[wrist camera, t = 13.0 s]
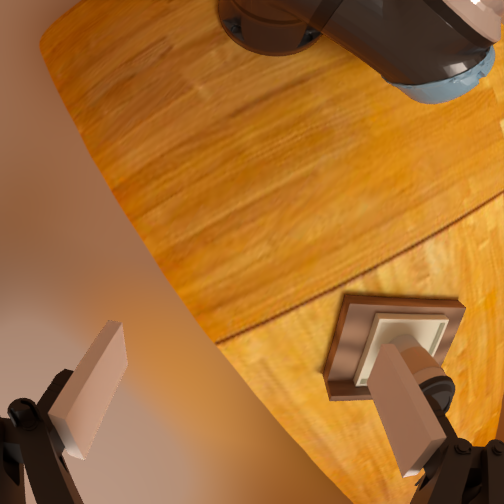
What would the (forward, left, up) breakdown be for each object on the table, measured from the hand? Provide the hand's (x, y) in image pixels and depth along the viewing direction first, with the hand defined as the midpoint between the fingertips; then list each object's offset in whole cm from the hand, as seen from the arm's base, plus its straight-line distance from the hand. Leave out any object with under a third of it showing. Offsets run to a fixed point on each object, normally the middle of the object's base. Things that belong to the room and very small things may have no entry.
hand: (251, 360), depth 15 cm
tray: (+20, +28, -29) cm, 45 cm away
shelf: (+20, +28, -32) cm, 47 cm away
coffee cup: (+20, +28, -28) cm, 44 cm away
